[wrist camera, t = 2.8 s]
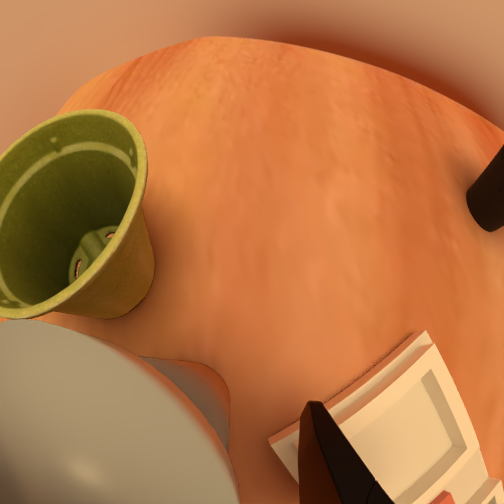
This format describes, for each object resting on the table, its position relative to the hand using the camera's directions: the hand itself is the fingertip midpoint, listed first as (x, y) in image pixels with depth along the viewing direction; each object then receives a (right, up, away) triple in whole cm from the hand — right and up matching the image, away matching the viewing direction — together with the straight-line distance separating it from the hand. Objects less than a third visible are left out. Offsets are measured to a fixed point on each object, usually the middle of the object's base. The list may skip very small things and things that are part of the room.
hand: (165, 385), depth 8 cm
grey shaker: (-1, -4, +6) cm, 7 cm away
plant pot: (-6, +3, +8) cm, 11 cm away
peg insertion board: (+14, -14, +3) cm, 20 cm away
